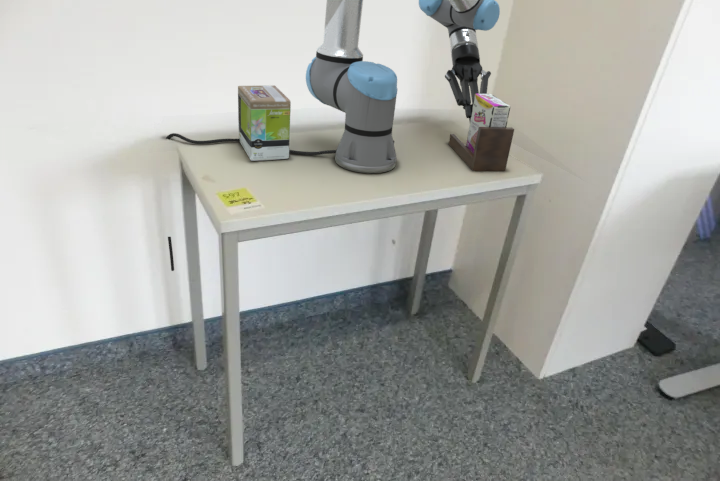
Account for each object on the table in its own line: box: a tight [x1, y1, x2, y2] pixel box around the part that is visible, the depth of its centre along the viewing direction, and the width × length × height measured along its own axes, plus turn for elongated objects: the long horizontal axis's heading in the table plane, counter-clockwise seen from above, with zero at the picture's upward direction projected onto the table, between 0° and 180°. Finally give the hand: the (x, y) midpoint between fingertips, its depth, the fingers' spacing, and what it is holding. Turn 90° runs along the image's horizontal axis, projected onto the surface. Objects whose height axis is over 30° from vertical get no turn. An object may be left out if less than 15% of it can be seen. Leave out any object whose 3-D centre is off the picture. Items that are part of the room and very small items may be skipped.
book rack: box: [448, 126, 515, 172], centre depth 147 cm, size 9×20×11 cm, turn 10°
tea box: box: [237, 85, 292, 162], centre depth 139 cm, size 15×10×15 cm, turn 22°
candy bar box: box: [465, 92, 511, 154], centre depth 144 cm, size 11×5×16 cm, turn 14°
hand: (475, 128), depth 150 cm, fingers closed
